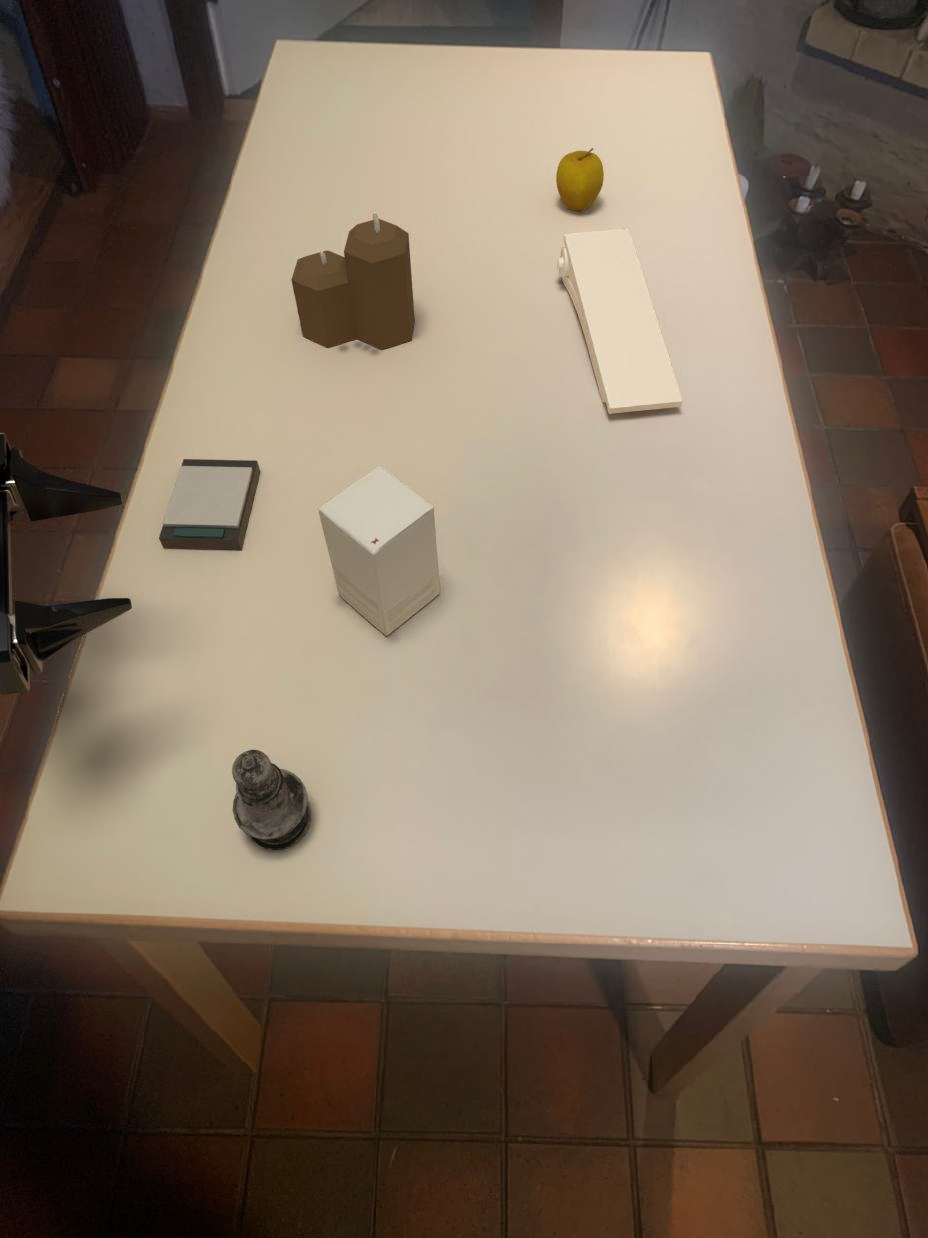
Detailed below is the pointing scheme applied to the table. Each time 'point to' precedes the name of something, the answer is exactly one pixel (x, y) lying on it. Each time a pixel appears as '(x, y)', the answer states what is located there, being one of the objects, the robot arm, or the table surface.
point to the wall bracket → (618, 321)
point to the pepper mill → (269, 802)
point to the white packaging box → (382, 548)
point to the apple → (579, 179)
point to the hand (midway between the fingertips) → (126, 549)
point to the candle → (358, 289)
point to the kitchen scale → (210, 504)
